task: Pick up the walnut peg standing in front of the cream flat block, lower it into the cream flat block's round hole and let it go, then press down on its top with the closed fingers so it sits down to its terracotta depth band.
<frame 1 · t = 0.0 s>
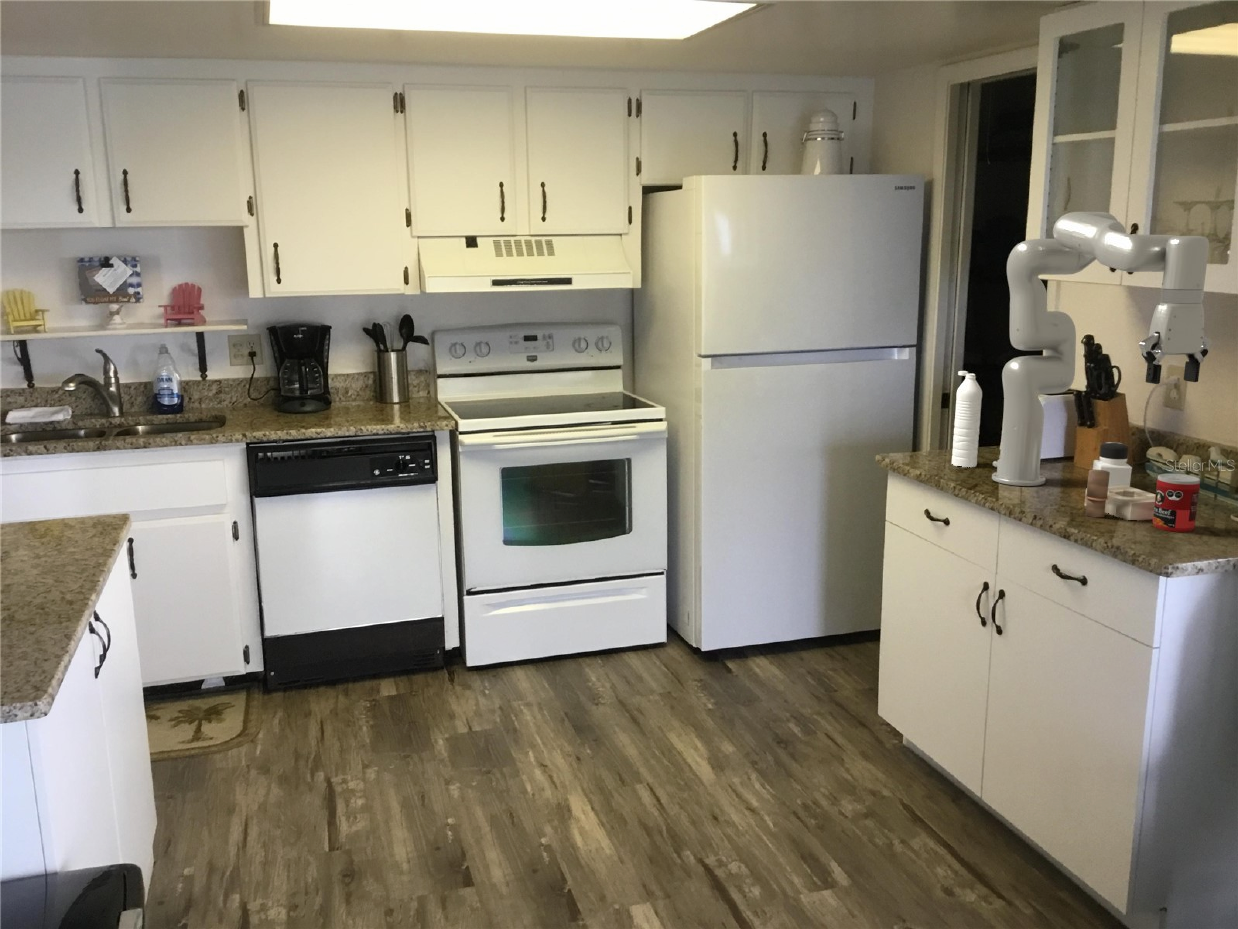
hand: (1171, 382, 212), 31 cm above the countertop, tool pointing down, fingers open, 9 cm apart
peg: (1094, 515, 228), on the countertop
water bottle: (961, 465, 280), on the countertop
medicine bottle: (1109, 492, 250), on the countertop
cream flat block: (1126, 511, 232), on the countertop
canned food: (1172, 528, 219), on the countertop
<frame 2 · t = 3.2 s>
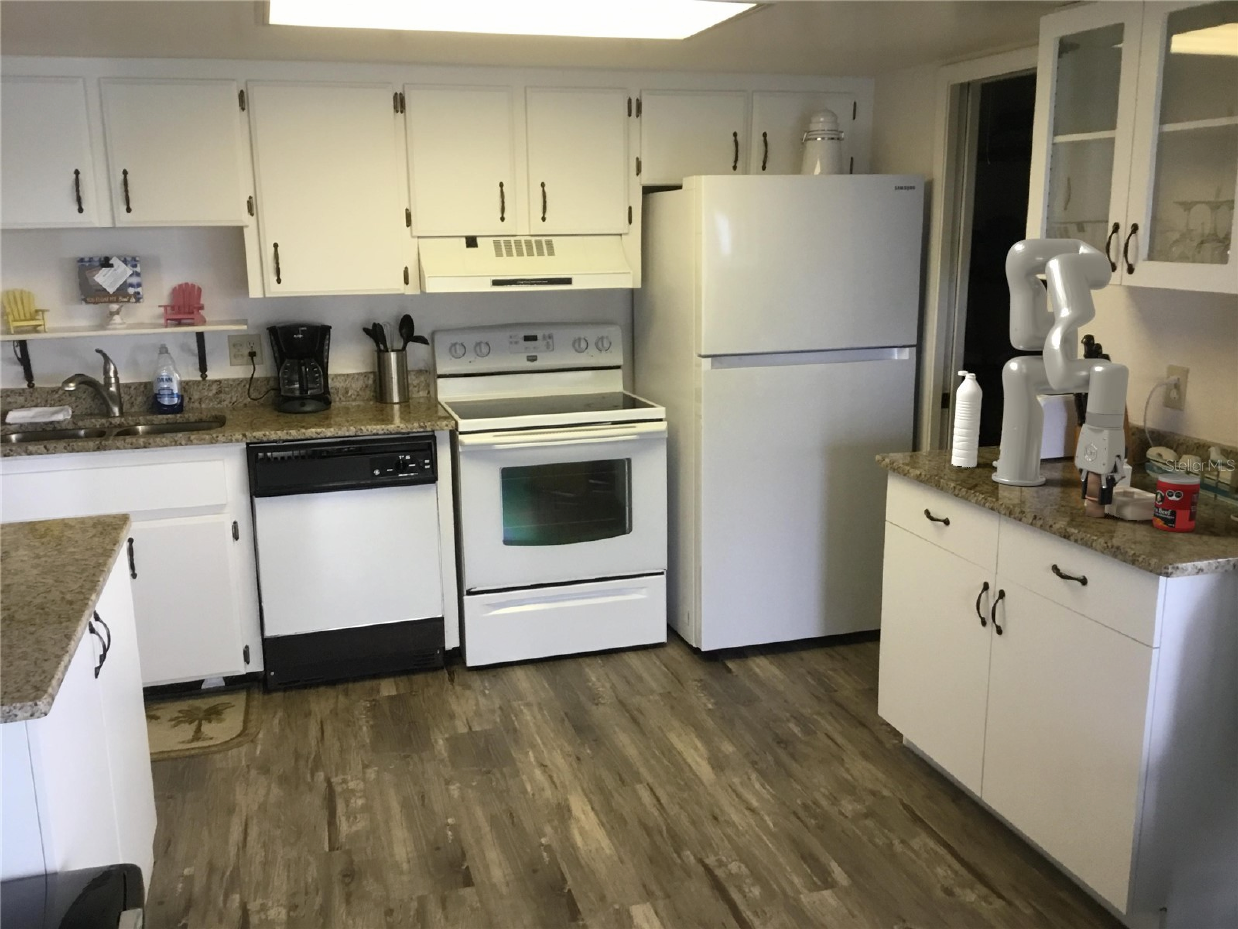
hand: (1096, 500, 228), 3 cm above the countertop, tool pointing down, fingers closed on peg, 4 cm apart
peg: (1094, 515, 228), on the countertop, touching gripper
everything else where it was.
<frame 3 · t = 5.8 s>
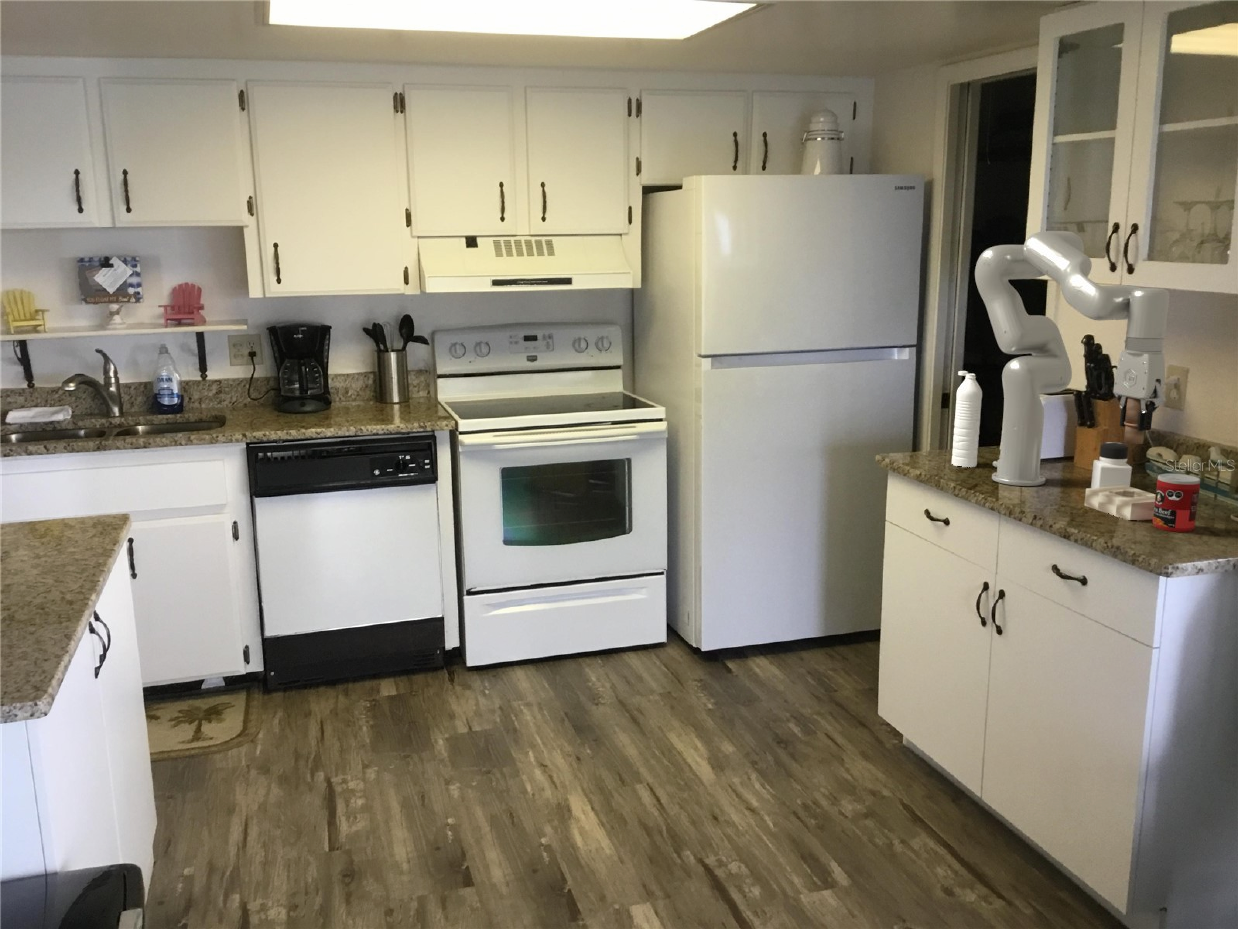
hand: (1135, 427, 228), 19 cm above the countertop, tool pointing down, fingers closed on peg, 4 cm apart
peg: (1133, 442, 228), point 16 cm above the countertop, touching gripper
everything else where it was.
when the fingers open (6 cm above the countertop, at t = 8.6 s): peg drops 3 cm, resting in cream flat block.
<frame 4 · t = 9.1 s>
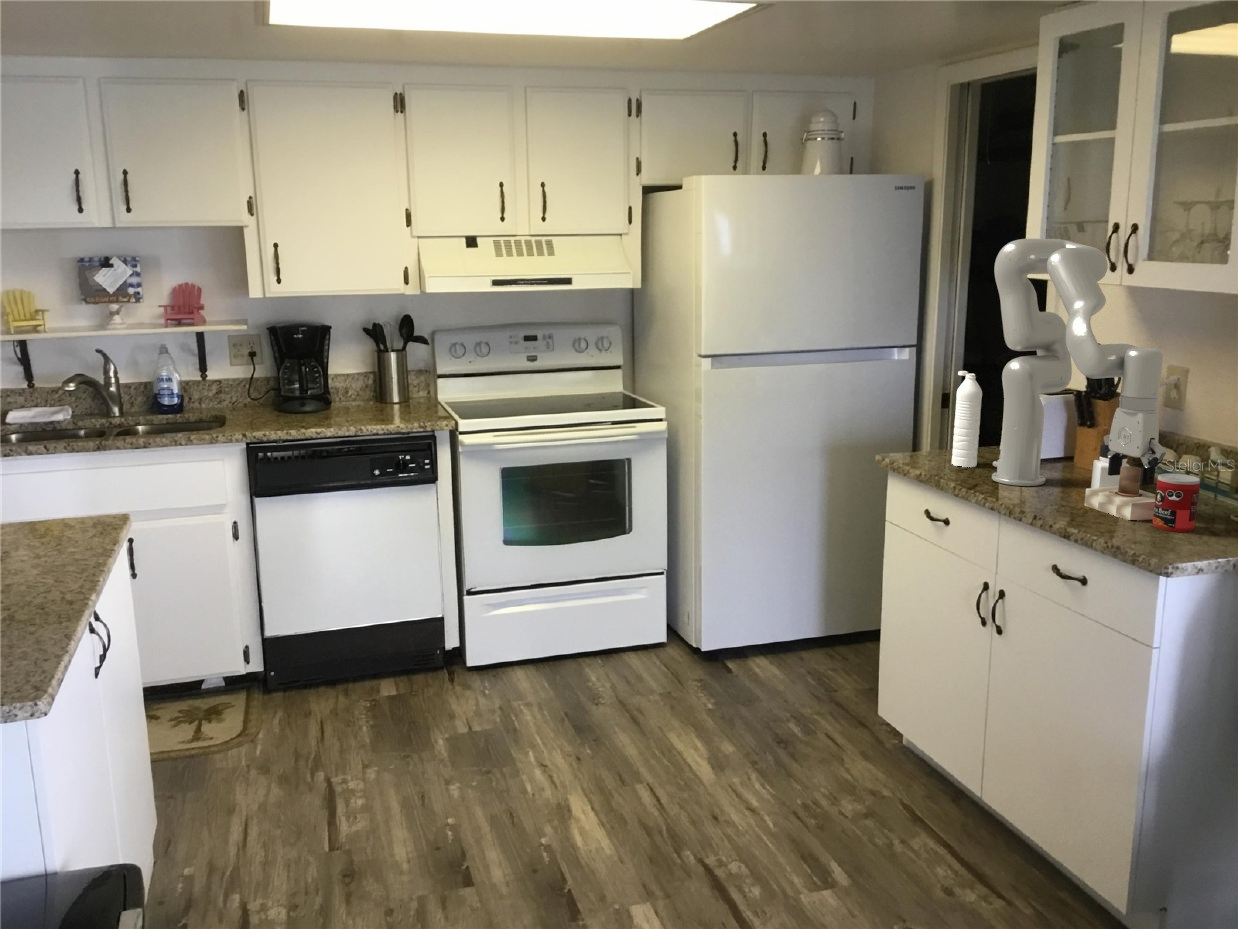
hand: (1130, 479, 230), 7 cm above the countertop, tool pointing down, fingers open, 9 cm apart
peg: (1126, 511, 232), resting in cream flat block
everything else where it was.
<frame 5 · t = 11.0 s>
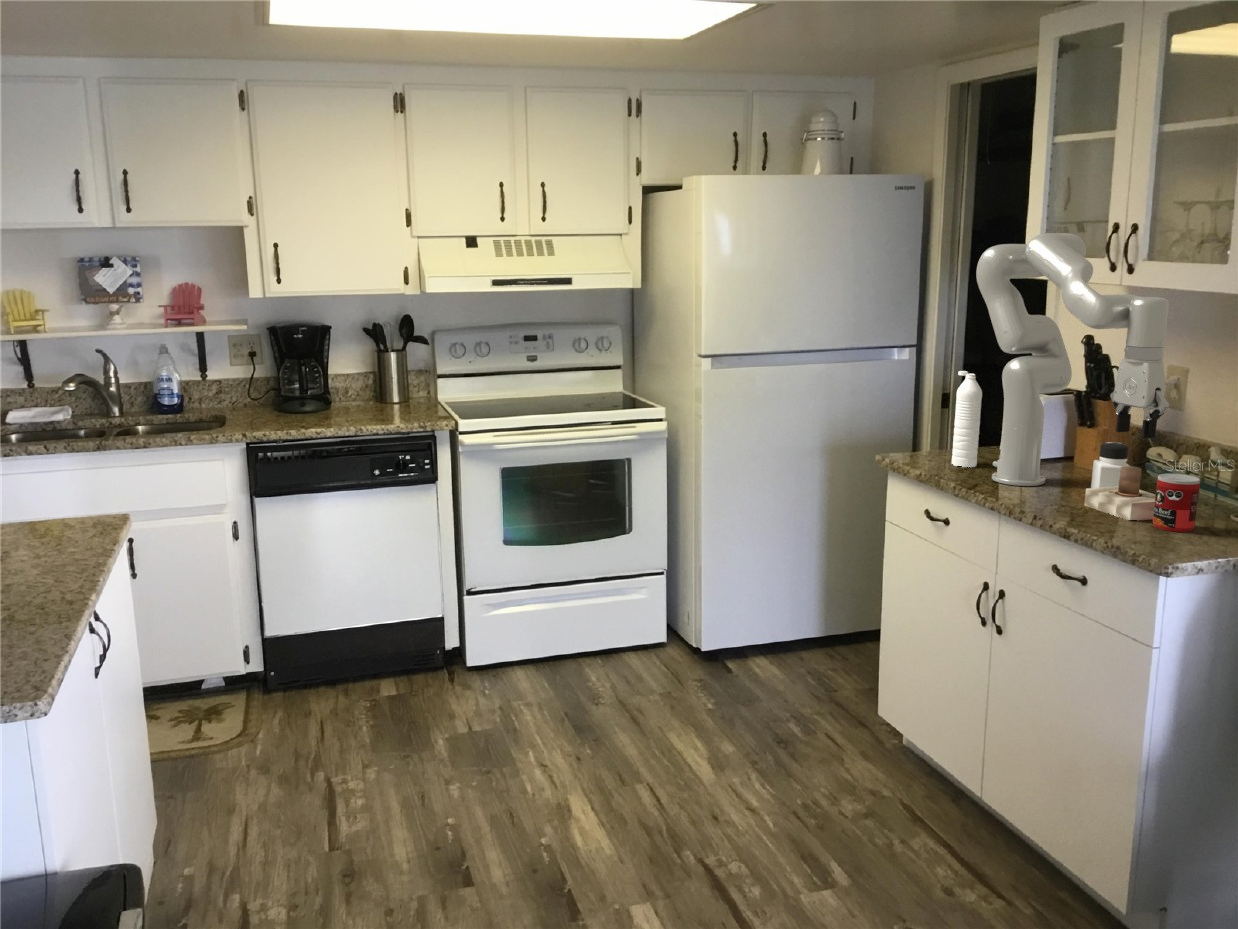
hand: (1135, 434, 228), 18 cm above the countertop, tool pointing down, fingers open, 6 cm apart
nothing on the countertop moved.
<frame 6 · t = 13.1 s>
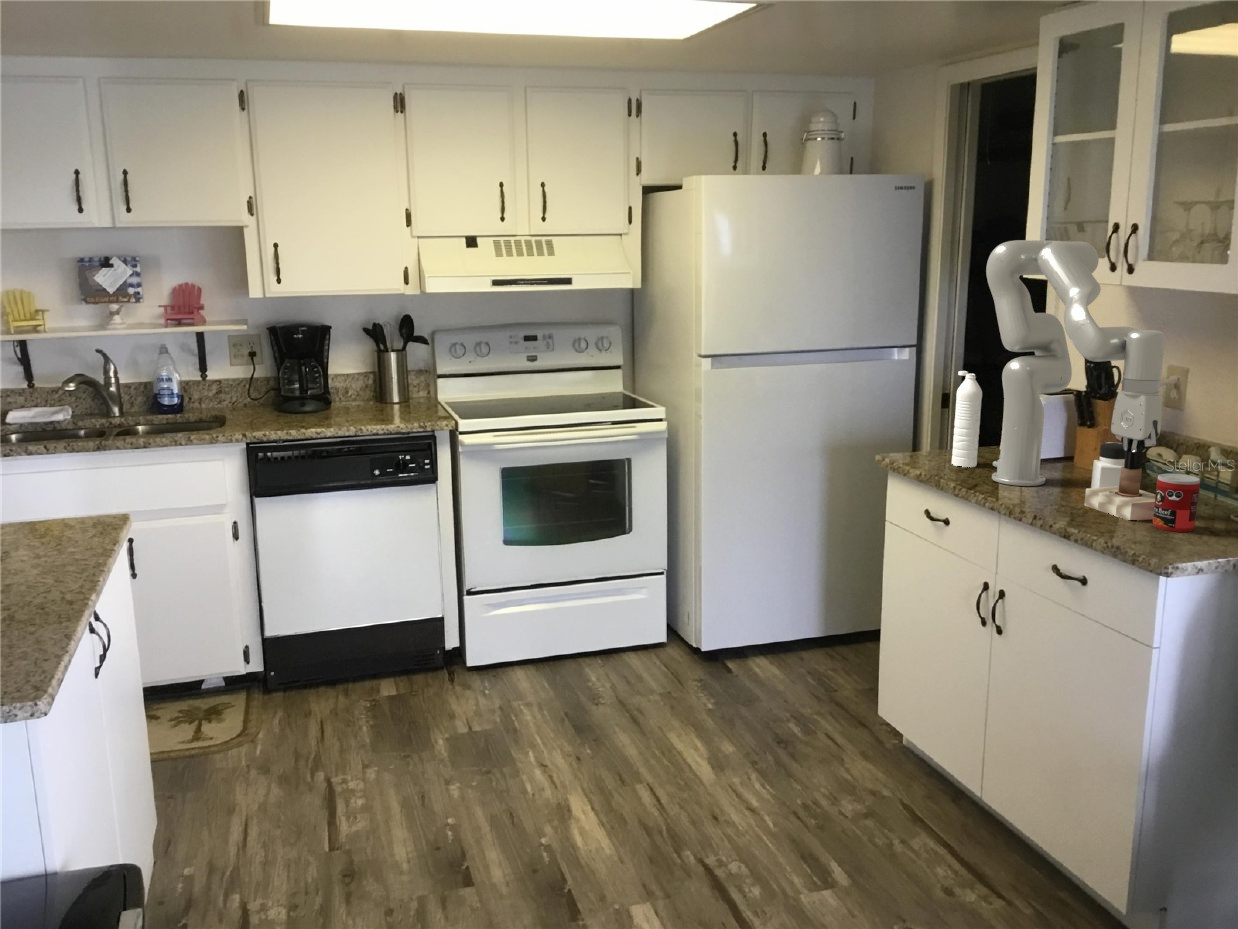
hand: (1132, 468, 230), 10 cm above the countertop, tool pointing down, fingers closed
peg: (1126, 511, 232), resting in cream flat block, touching gripper
everything else where it was.
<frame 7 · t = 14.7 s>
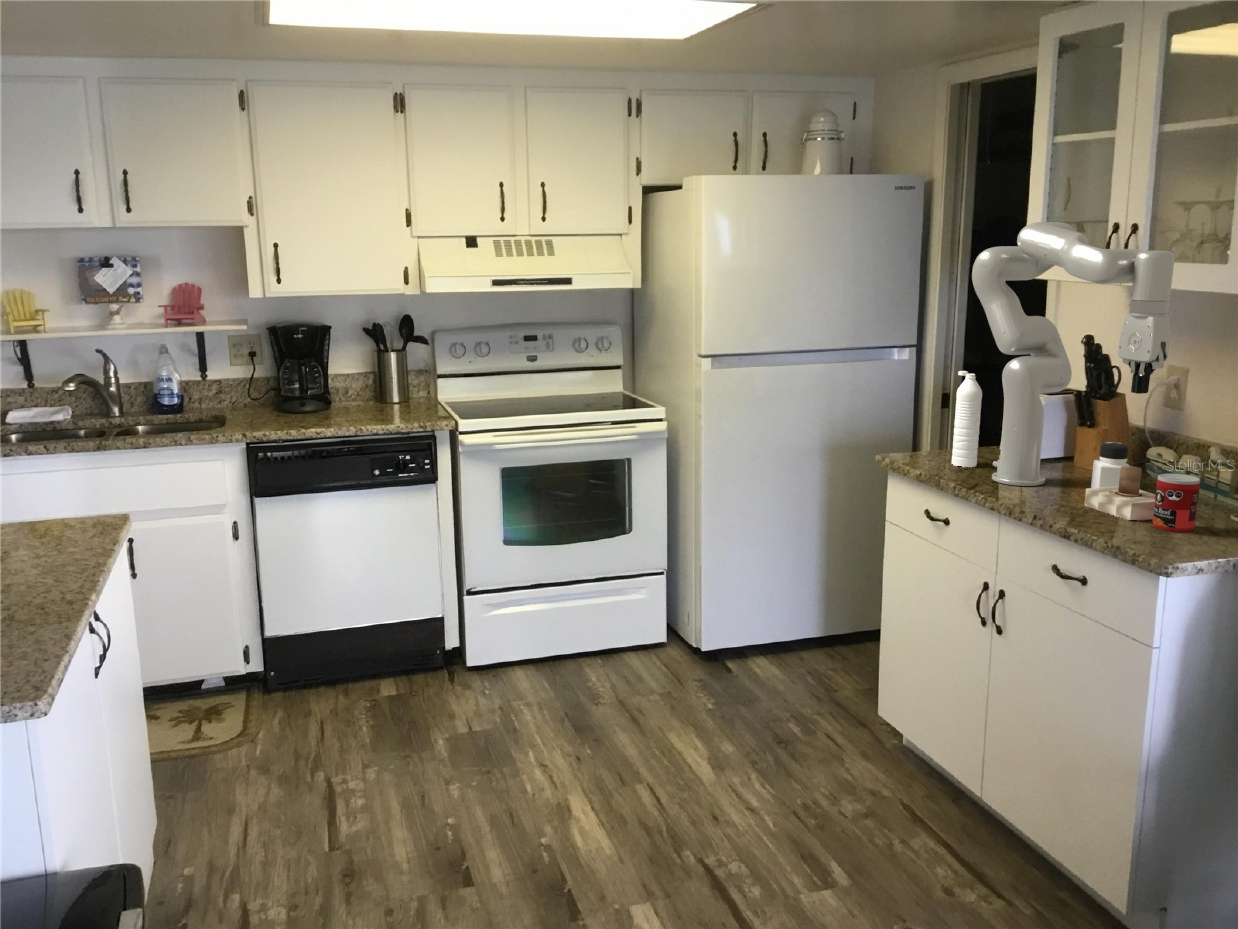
hand: (1139, 392, 226), 27 cm above the countertop, tool pointing down, fingers closed
peg: (1126, 511, 232), resting in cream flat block
everything else where it was.
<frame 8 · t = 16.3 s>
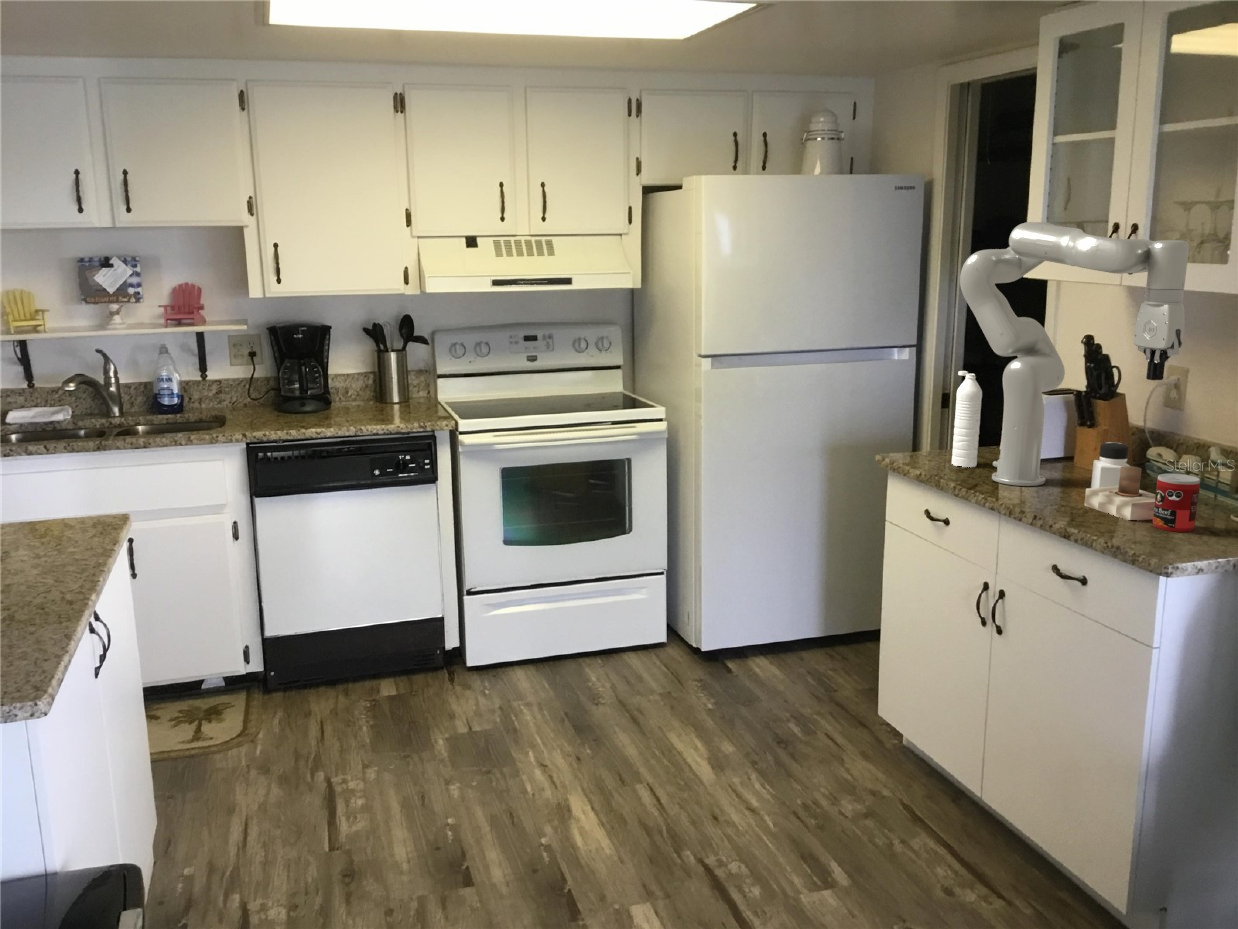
hand: (1154, 379, 231), 29 cm above the countertop, tool pointing down, fingers closed
nothing on the countertop moved.
at the end: peg 0.1 cm off-centre on the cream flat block, point 0.0 cm above the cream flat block's base; peg tilted 0°; the gripper is holding nothing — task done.
